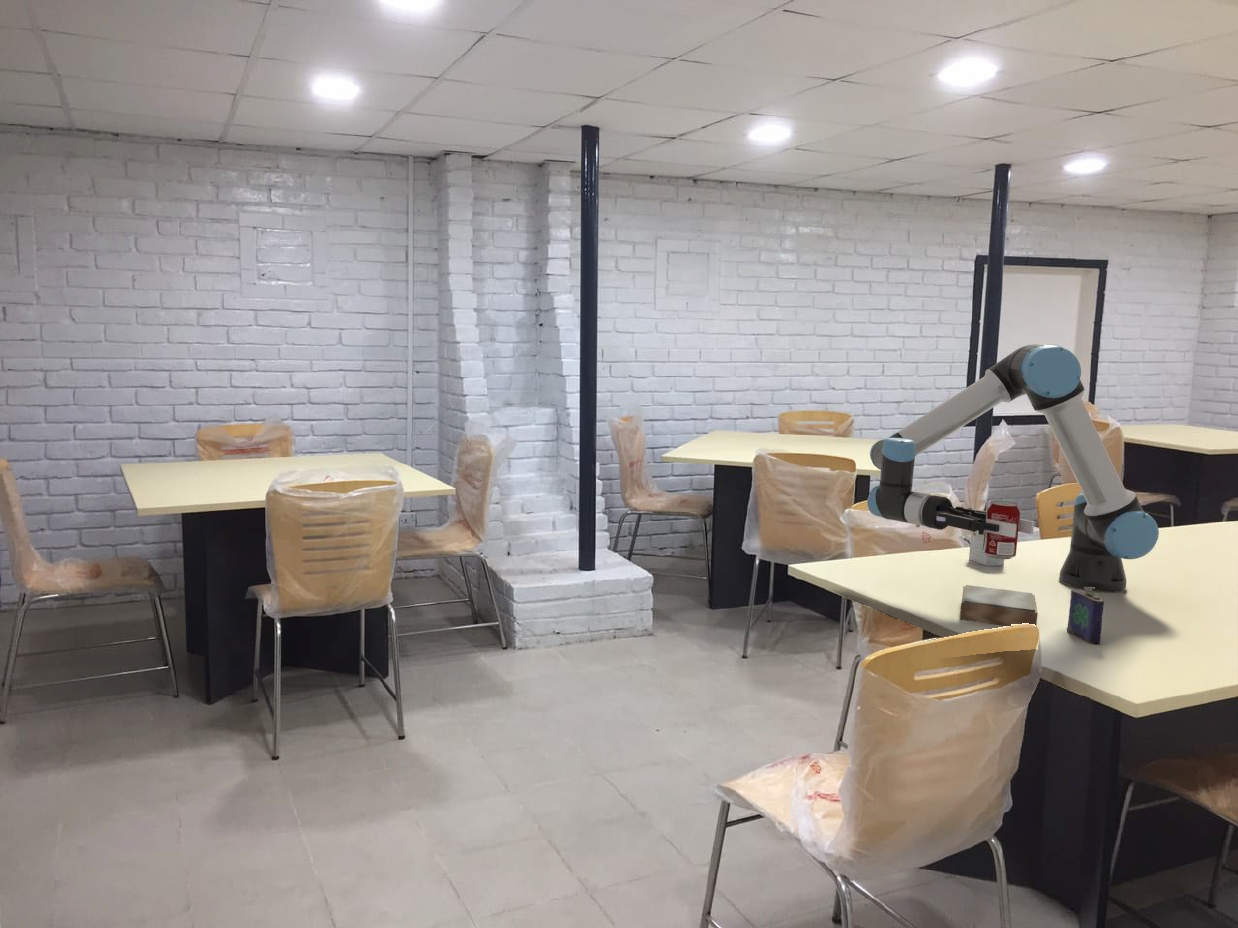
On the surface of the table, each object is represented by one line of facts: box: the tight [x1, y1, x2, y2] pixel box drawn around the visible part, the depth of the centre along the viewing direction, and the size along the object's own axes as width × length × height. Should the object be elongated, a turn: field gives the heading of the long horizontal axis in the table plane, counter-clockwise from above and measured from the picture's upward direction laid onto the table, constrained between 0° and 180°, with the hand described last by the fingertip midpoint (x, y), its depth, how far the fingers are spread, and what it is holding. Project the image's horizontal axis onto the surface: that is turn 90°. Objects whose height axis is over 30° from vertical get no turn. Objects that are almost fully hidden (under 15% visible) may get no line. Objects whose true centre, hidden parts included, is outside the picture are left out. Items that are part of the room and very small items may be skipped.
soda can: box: [983, 499, 1021, 560], centre depth 210 cm, size 7×7×12 cm
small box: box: [968, 530, 1005, 567], centre depth 262 cm, size 8×6×10 cm
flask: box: [1066, 587, 1105, 646], centre depth 197 cm, size 9×3×11 cm, turn 8°
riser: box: [959, 584, 1039, 626], centre depth 212 cm, size 15×16×4 cm
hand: (1023, 529), depth 206 cm, fingers closed on soda can, 6 cm apart
